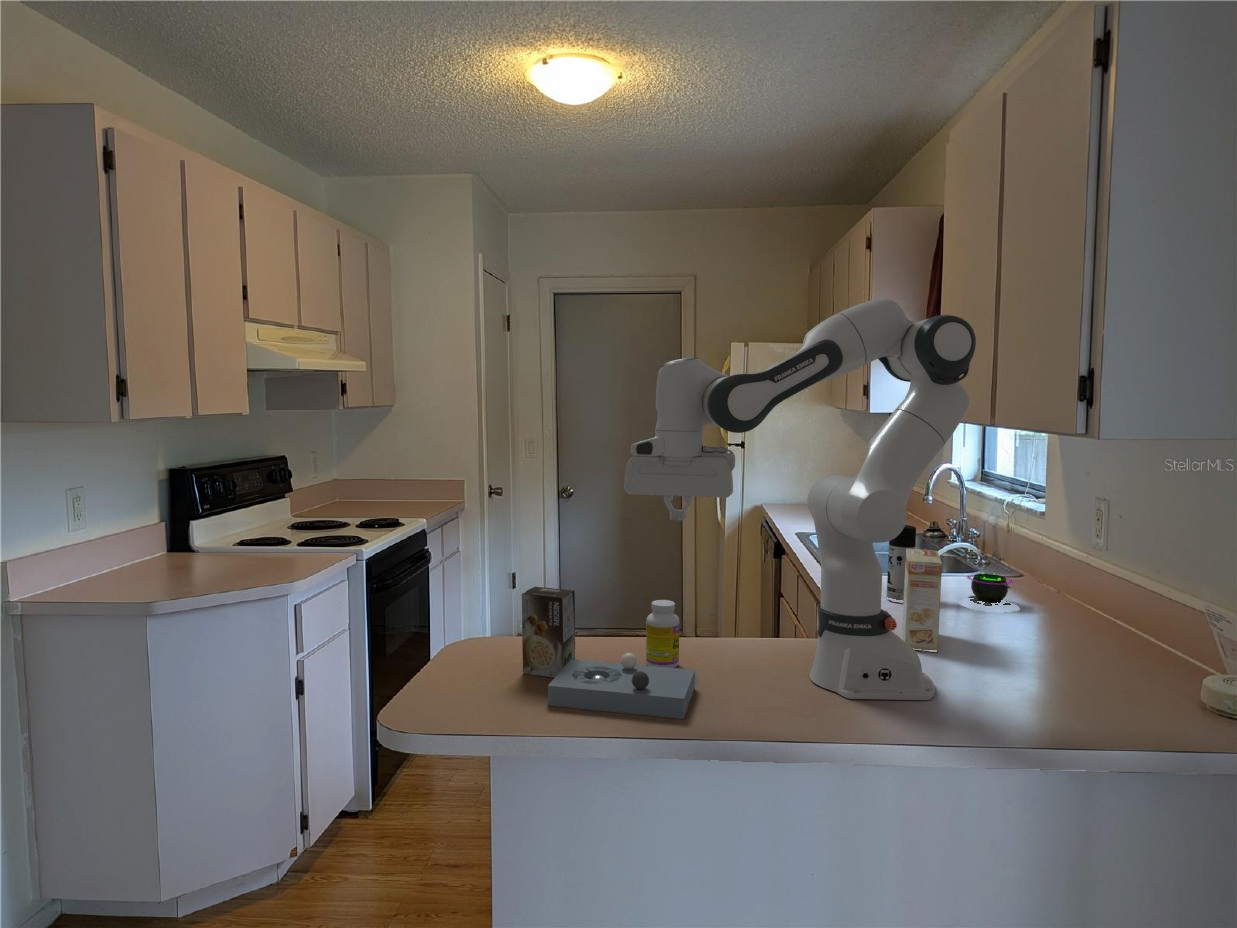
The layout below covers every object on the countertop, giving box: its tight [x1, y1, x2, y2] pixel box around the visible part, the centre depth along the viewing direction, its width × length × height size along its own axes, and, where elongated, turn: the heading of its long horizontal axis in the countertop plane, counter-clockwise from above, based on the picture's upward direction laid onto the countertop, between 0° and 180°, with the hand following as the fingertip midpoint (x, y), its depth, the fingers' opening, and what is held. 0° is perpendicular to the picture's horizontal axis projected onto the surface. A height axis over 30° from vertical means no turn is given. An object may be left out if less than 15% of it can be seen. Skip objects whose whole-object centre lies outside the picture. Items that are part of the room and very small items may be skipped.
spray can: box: [886, 524, 917, 601], centre depth 206 cm, size 7×7×20 cm
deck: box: [547, 658, 696, 720], centre depth 140 cm, size 24×14×4 cm, turn 77°
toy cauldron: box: [967, 562, 1015, 606], centre depth 203 cm, size 15×15×11 cm
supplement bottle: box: [645, 599, 680, 668], centre depth 157 cm, size 7×7×13 cm
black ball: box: [632, 671, 649, 689], centre depth 135 cm, size 3×3×3 cm
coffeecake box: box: [901, 548, 943, 651], centre depth 172 cm, size 15×7×20 cm, turn 161°
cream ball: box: [620, 652, 638, 669], centre depth 144 cm, size 3×3×3 cm
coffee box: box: [521, 586, 576, 679], centre depth 152 cm, size 9×6×16 cm
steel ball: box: [590, 675, 606, 680], centre depth 141 cm, size 4×4×4 cm
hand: (677, 519), depth 146 cm, fingers closed
